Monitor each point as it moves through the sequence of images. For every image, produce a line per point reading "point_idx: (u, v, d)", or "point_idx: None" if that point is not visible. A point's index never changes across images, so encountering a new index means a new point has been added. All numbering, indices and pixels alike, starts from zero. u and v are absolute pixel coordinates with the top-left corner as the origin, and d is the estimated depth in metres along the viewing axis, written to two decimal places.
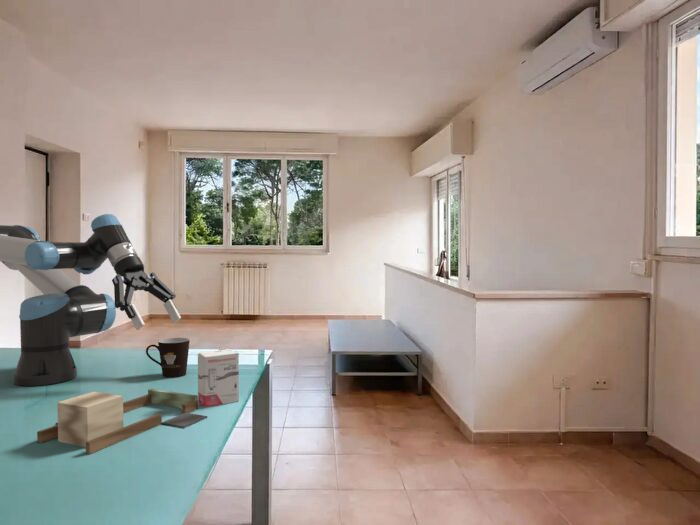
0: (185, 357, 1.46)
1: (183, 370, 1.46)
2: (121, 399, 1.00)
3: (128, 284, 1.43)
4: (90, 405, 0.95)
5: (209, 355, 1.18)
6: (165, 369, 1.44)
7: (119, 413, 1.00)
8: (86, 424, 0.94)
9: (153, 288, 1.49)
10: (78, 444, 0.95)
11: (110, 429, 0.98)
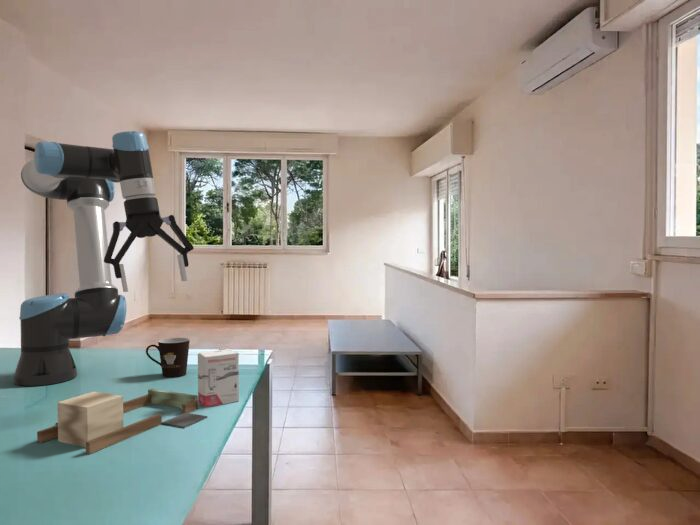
0: (185, 357, 1.46)
1: (183, 370, 1.46)
2: (121, 399, 1.00)
3: (132, 231, 1.22)
4: (90, 405, 0.95)
5: (209, 355, 1.18)
6: (165, 369, 1.44)
7: (119, 413, 1.00)
8: (86, 424, 0.94)
9: (164, 238, 1.24)
10: (78, 444, 0.95)
11: (110, 429, 0.98)
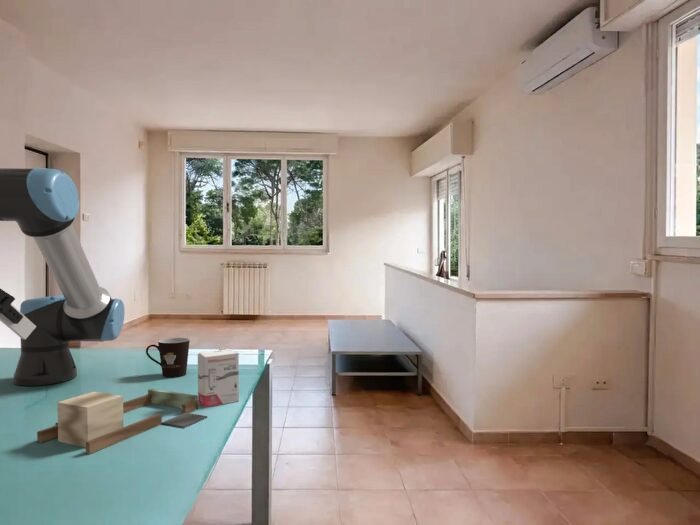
0: (185, 357, 1.46)
1: (183, 370, 1.46)
2: (121, 399, 1.00)
3: None
4: (90, 405, 0.95)
5: (209, 355, 1.18)
6: (165, 369, 1.44)
7: (119, 413, 1.00)
8: (86, 424, 0.94)
9: None
10: (78, 444, 0.95)
11: (110, 429, 0.98)
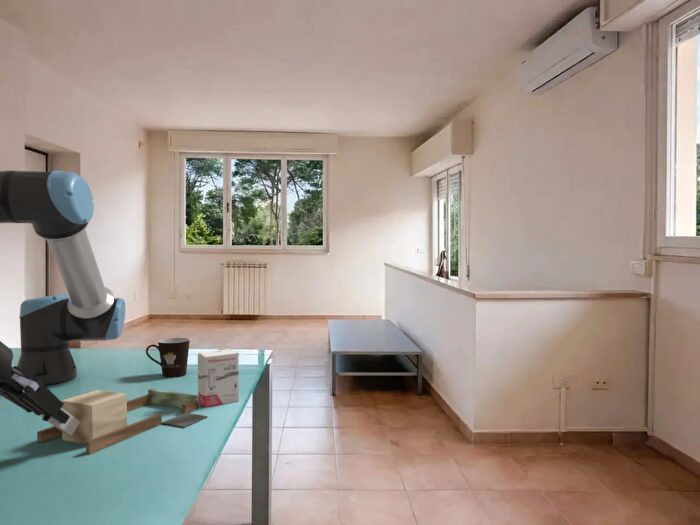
0: (185, 357, 1.46)
1: (183, 370, 1.46)
2: (125, 397, 1.01)
3: None
4: (95, 403, 0.96)
5: (209, 355, 1.18)
6: (165, 369, 1.44)
7: (123, 411, 1.01)
8: (91, 422, 0.95)
9: None
10: (83, 442, 0.96)
11: (114, 427, 0.99)
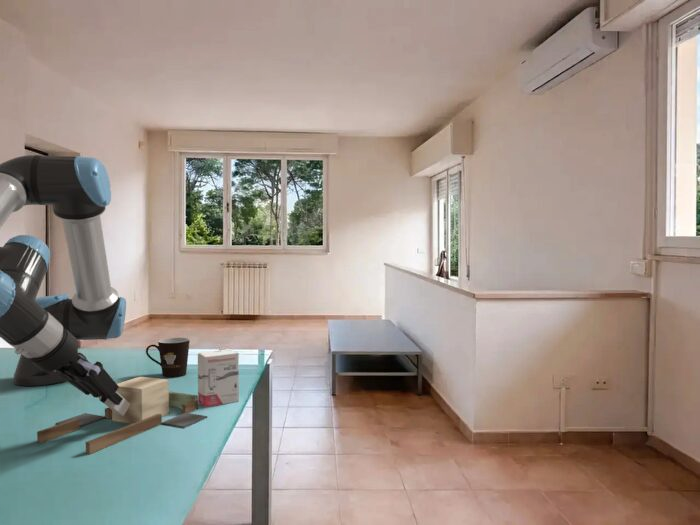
0: (185, 357, 1.46)
1: (183, 370, 1.46)
2: (167, 382, 1.13)
3: None
4: (143, 387, 1.07)
5: (209, 355, 1.18)
6: (165, 369, 1.44)
7: (165, 395, 1.12)
8: (140, 404, 1.06)
9: None
10: (132, 422, 1.06)
11: (158, 409, 1.10)
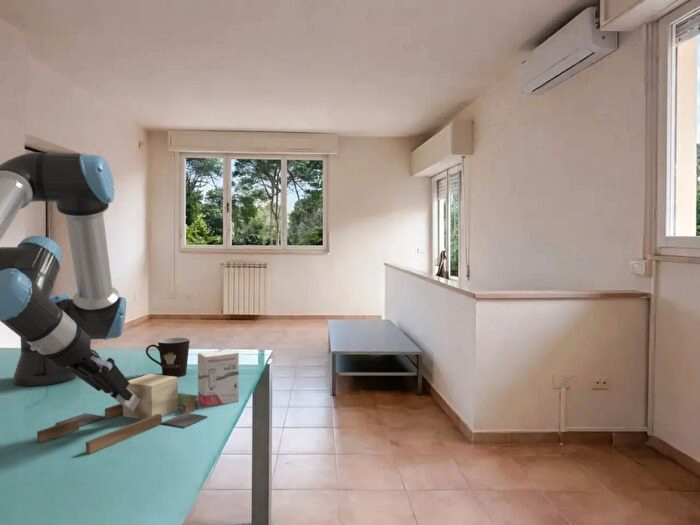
0: (185, 357, 1.46)
1: (183, 370, 1.46)
2: (176, 380, 1.15)
3: None
4: (153, 384, 1.09)
5: (209, 355, 1.18)
6: (165, 369, 1.44)
7: (175, 392, 1.15)
8: (150, 400, 1.08)
9: None
10: (142, 418, 1.09)
11: (168, 405, 1.13)
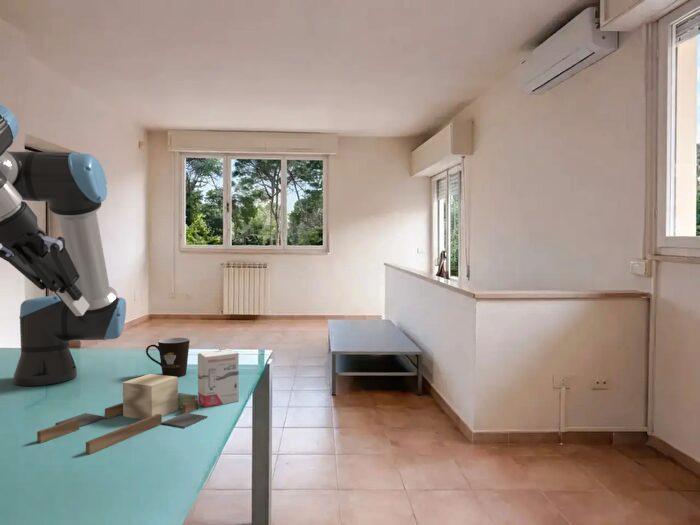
0: (185, 357, 1.46)
1: (183, 370, 1.46)
2: (176, 380, 1.15)
3: None
4: (153, 384, 1.09)
5: (209, 355, 1.18)
6: (165, 369, 1.44)
7: (175, 392, 1.15)
8: (150, 400, 1.08)
9: None
10: (142, 418, 1.09)
11: (168, 405, 1.13)
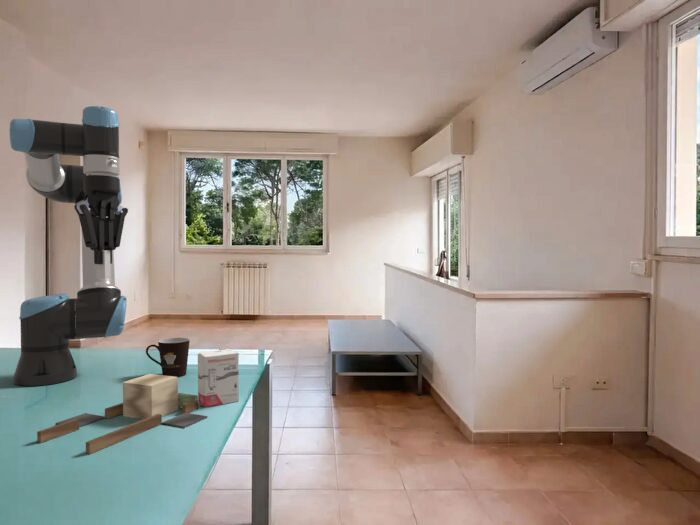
0: (185, 357, 1.46)
1: (183, 370, 1.46)
2: (176, 380, 1.15)
3: None
4: (153, 384, 1.09)
5: (209, 355, 1.18)
6: (165, 369, 1.44)
7: (175, 392, 1.15)
8: (150, 400, 1.08)
9: (107, 223, 1.19)
10: (142, 418, 1.09)
11: (168, 405, 1.13)
